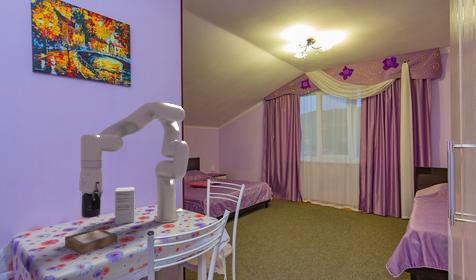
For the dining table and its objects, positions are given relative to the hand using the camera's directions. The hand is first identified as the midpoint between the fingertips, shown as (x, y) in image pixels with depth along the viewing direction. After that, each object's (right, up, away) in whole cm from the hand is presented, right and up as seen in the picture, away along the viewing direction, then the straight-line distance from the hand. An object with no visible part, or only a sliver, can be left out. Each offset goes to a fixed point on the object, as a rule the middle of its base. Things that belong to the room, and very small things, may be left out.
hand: (91, 207), depth 106 cm
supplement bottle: (0, -3, 0) cm, 3 cm away
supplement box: (+1, -15, +30) cm, 34 cm away
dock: (0, -15, 0) cm, 15 cm away
